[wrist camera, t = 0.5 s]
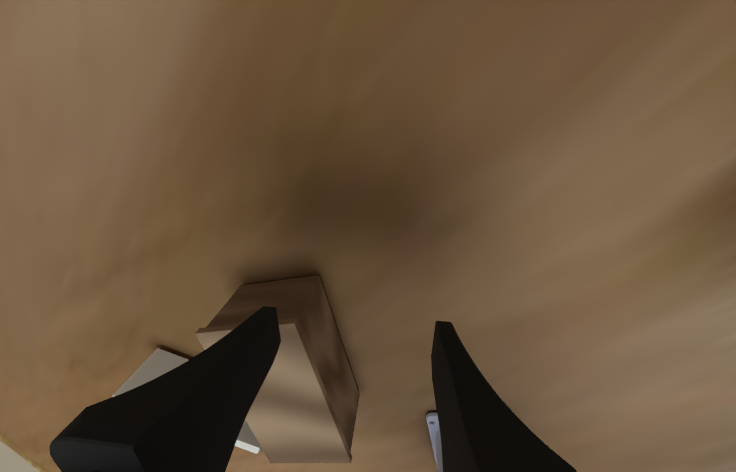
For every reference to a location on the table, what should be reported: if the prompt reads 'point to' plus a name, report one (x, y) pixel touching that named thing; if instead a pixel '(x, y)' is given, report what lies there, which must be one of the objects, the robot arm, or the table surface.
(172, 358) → the door
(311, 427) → the cabinet
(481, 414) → the robot arm
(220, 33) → the table surface
